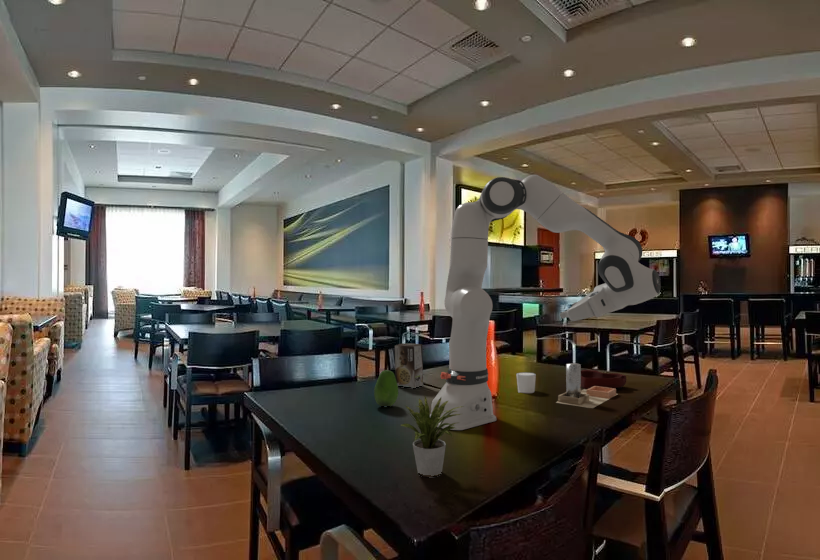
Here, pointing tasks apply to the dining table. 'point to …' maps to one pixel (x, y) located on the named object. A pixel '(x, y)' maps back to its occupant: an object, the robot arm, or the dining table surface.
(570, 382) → the peg
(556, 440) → the dining table surface
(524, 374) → the white cup
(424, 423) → the house plant
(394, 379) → the avocado
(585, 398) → the rail board
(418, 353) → the coffee box
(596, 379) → the ashtray
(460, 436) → the dining table surface
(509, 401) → the dining table surface
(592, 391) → the marked socket
